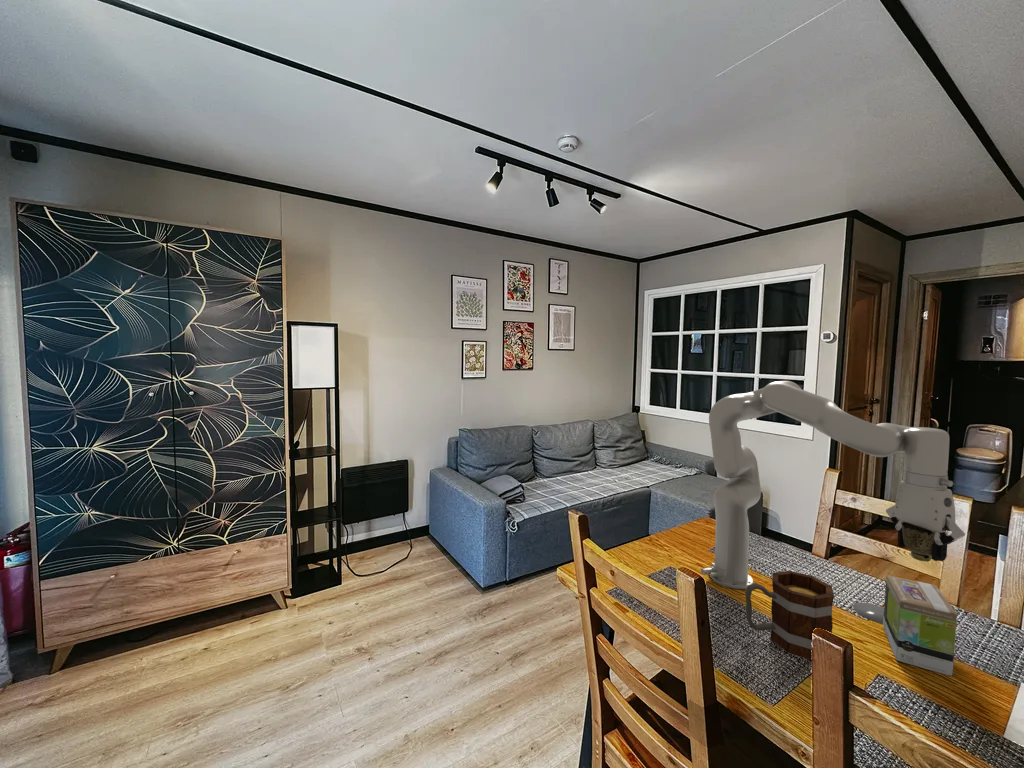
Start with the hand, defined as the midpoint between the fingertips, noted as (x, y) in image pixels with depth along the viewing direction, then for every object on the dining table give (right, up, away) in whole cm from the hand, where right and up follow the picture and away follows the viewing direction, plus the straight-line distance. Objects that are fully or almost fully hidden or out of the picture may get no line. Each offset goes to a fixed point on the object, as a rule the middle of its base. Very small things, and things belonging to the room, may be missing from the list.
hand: (920, 552), depth 102 cm
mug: (-29, -24, +5) cm, 38 cm away
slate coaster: (+3, -24, +16) cm, 29 cm away
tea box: (0, -25, +1) cm, 25 cm away
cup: (0, -2, 0) cm, 2 cm away
